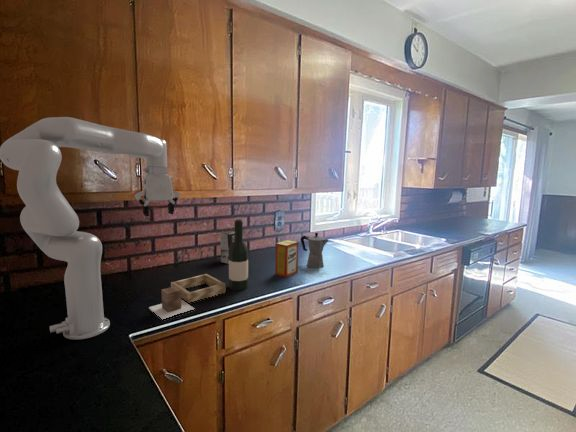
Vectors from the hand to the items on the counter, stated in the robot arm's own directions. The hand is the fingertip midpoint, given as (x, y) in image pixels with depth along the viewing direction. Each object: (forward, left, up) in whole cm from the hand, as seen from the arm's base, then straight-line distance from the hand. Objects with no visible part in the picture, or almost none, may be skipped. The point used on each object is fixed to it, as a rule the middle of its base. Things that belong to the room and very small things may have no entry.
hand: (159, 214), depth 127 cm
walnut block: (-4, -18, -32) cm, 37 cm away
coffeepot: (+75, -17, -32) cm, 83 cm away
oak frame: (+11, -10, -32) cm, 36 cm away
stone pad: (-4, -18, -32) cm, 37 cm away
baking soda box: (+55, -17, -32) cm, 66 cm away
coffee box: (+45, +17, -32) cm, 58 cm away
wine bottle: (+27, -16, -32) cm, 45 cm away
